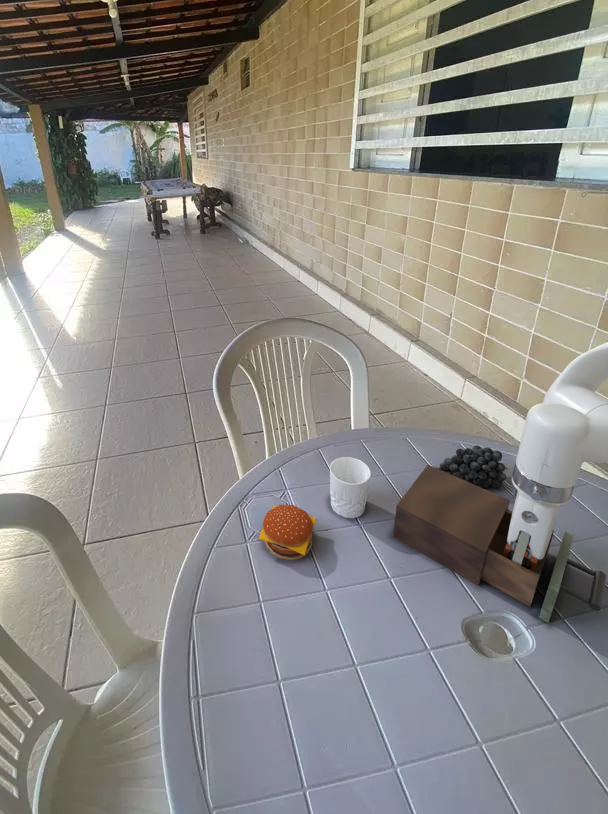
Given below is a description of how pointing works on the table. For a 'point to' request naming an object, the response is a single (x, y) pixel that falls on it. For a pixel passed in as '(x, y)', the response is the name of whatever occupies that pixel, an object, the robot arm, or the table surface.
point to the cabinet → (449, 521)
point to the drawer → (536, 573)
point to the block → (533, 559)
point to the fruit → (476, 466)
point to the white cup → (349, 486)
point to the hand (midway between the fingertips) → (519, 564)
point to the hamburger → (288, 532)
